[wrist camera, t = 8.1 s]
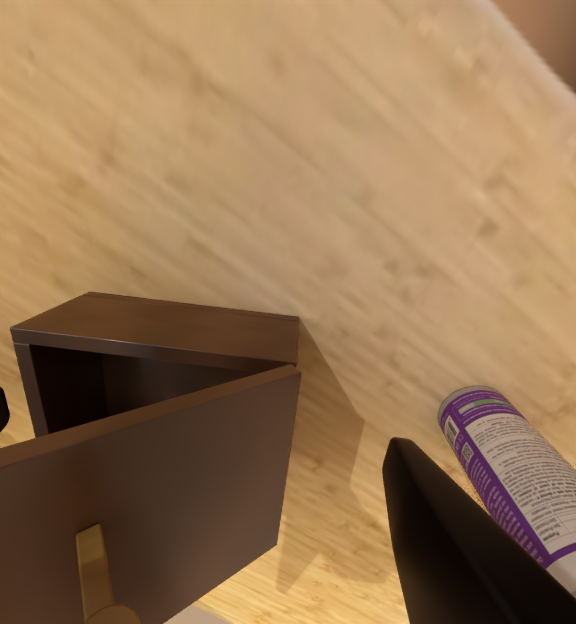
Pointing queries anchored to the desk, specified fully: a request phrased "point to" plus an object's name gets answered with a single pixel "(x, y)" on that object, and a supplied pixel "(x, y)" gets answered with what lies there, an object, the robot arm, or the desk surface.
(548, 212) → the desk surface
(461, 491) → the robot arm
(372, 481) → the desk surface
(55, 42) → the desk surface
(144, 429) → the box door
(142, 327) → the compartment
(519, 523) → the container
